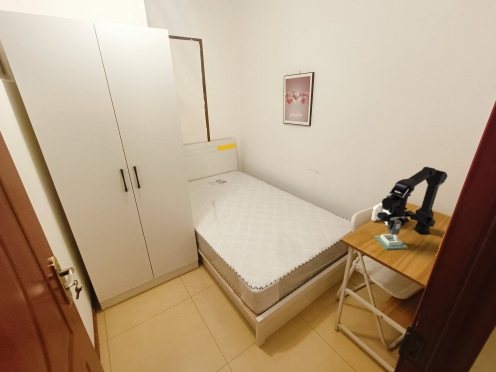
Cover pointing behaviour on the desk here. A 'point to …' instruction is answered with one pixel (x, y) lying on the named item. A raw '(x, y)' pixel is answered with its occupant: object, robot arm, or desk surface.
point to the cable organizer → (376, 210)
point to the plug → (395, 227)
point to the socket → (391, 243)
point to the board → (390, 246)
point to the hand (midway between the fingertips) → (393, 229)
